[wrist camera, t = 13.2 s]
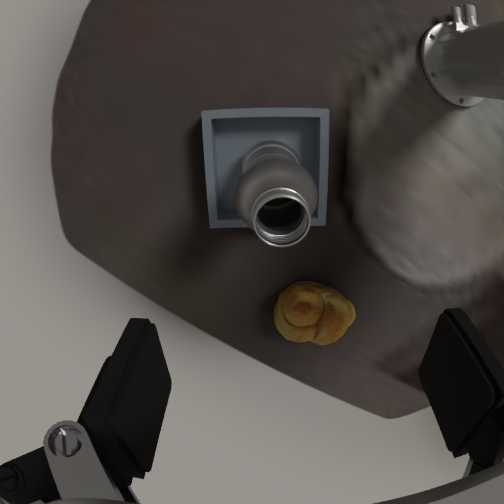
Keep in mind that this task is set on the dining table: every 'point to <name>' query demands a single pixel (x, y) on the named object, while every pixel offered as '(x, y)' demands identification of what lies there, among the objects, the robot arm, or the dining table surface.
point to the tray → (250, 133)
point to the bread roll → (312, 313)
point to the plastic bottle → (275, 194)
